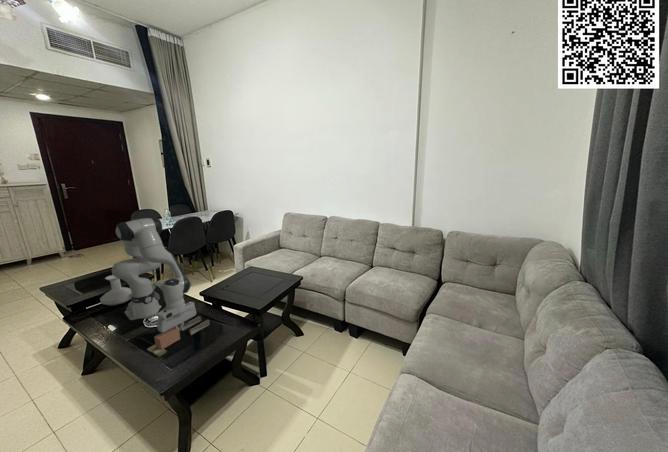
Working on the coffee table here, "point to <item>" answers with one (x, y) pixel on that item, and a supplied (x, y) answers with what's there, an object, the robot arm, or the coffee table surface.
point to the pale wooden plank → (160, 352)
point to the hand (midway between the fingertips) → (179, 330)
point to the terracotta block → (167, 338)
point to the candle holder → (116, 293)
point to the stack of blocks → (156, 283)
